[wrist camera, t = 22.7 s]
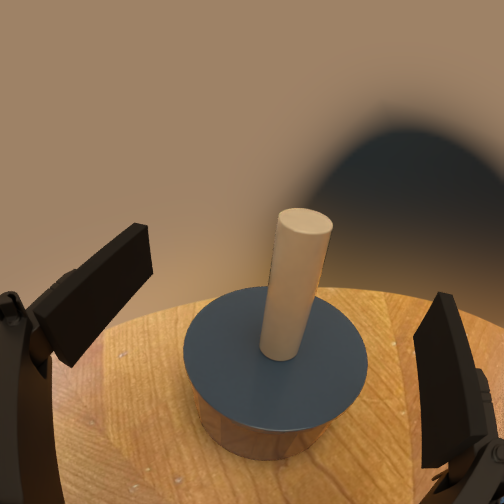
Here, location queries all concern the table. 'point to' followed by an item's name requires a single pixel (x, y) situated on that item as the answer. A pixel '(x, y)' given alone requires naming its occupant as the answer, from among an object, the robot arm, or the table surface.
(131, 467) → the table surface
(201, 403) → the pot
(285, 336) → the lid
